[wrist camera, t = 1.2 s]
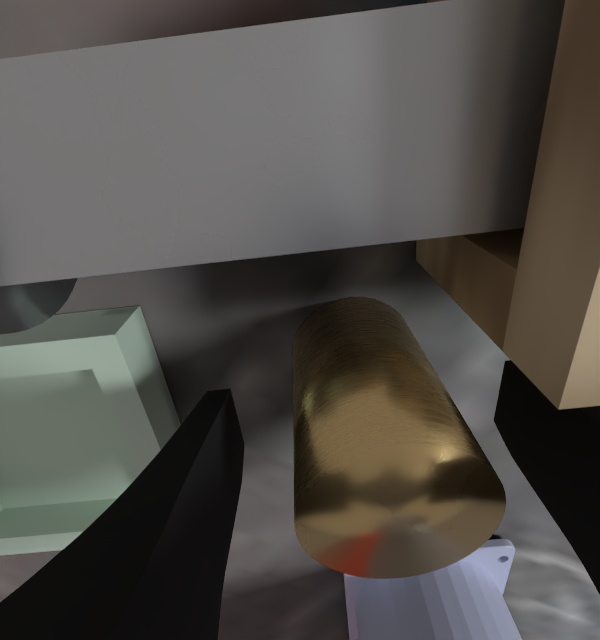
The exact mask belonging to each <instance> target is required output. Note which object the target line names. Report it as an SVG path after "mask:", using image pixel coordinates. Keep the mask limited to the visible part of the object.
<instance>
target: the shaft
mask: <svg viewBox="0 0 600 640" xmlns="http://www.w3.org/2000/svg"><path fill="white" fill-rule="evenodd" d="M564 5H565V0H446V1H439V2H431V3H423V4H416V5H408V6H401V7H393V8H385V9H378V10H370V11H362V12H355V13H347V14H340V15H332V16H324V17H317V18H309V19H302V20H294V21H286V22H279V23H271V24H263V25H256V26H248V27H241V28H233V29H225V30H218V31H210V32H203V33H195V34H187V35H180V36H172V37H164V38H157V39H149V40H142V41H134V42H126V43H119V44H111V45H104V46H96V47H88V48H81V49H73V50H65V51H58V52H50V53H43V54H35V55H27V56H20V57H12V58H5V59H0V335H1V334H10V333H16V332H20V331H24V330H28V329H31V328H33V327H35V326H38V325H40V324H42V323H43V322H45V321H46V320H48V319H49V318H51V317H52V316H53V315H54V314H55V313H56V312H57V311H58V310H60V308H61V307H62V306H63V305H64V303H65V302H66V301H67V299H68V297H69V296H70V294H71V292H72V290H73V288H74V286H75V283H76V281H77V278H80V277H89V276H98V275H107V274H116V273H125V272H134V271H143V270H152V269H161V268H170V267H179V266H188V265H197V264H206V263H215V262H224V261H233V260H242V259H251V258H260V257H268V256H277V255H286V254H295V253H304V252H313V251H322V250H331V249H340V248H349V247H358V246H367V245H376V244H385V243H394V242H403V241H412V240H421V239H430V238H439V237H448V236H457V235H466V234H475V233H484V232H493V231H502V230H511V229H520V228H525V223H526V217H527V211H528V206H529V200H530V195H531V189H532V183H533V178H534V172H535V167H536V161H537V156H538V150H539V144H540V139H541V133H542V128H543V122H544V116H545V111H546V105H547V100H548V94H549V89H550V83H551V77H552V72H553V66H554V61H555V55H556V49H557V44H558V38H559V33H560V27H561V22H562V16H563V10H564Z"/></svg>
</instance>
